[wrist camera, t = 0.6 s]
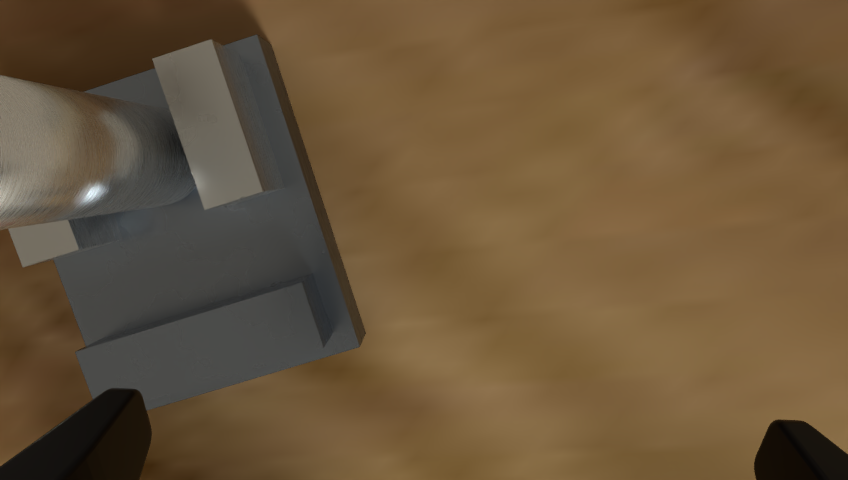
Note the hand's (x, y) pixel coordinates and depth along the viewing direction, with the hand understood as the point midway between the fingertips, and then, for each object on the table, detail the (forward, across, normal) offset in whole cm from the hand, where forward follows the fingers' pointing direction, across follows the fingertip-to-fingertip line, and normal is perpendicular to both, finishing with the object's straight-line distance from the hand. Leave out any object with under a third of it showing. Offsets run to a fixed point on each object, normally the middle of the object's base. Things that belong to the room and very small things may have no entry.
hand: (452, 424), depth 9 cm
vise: (+16, +10, +7) cm, 20 cm away
